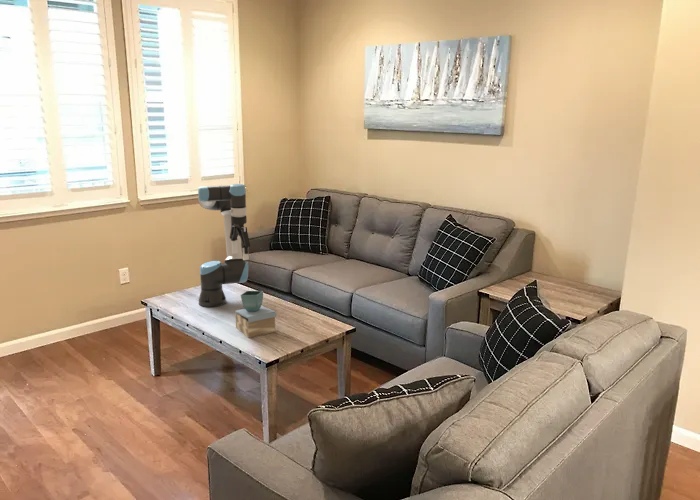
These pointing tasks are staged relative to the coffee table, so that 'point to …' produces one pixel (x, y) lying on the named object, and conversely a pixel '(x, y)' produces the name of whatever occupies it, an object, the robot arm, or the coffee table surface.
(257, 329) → the crate
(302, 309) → the coffee table surface
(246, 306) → the flower pot
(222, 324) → the coffee table surface
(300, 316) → the coffee table surface
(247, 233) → the robot arm
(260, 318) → the lid
